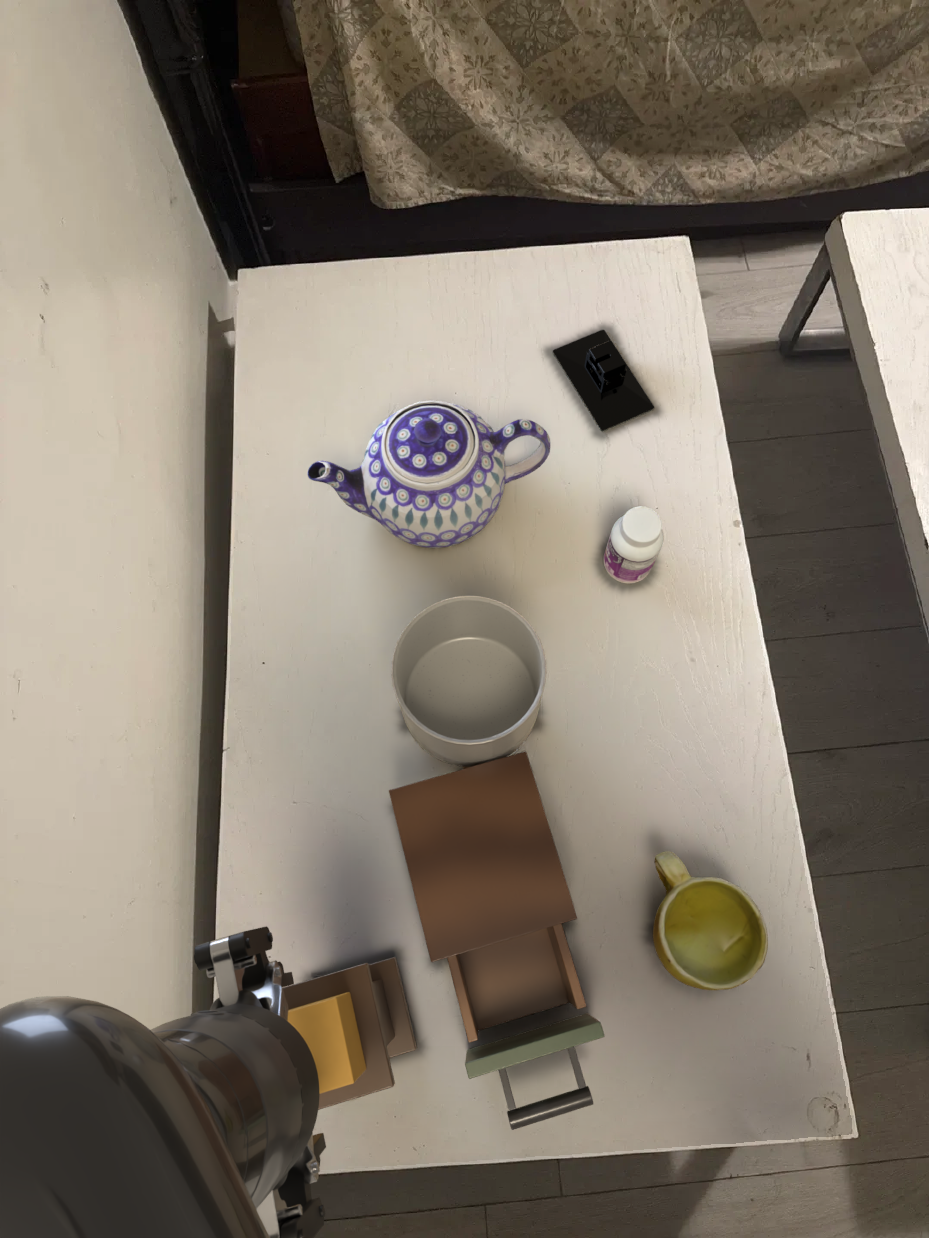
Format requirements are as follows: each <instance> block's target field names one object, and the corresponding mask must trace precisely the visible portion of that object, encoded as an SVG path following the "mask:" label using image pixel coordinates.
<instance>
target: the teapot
mask: <svg viewBox="0 0 929 1238" xmlns="http://www.w3.org/2000/svg"><path fill="white" fill-rule="evenodd" d="M524 436H531V437H533V438H535V439H537V440H538V441H539V442H540V443H539V445H538V447H537V449H536V450H535V451H534V452H532V454H531V455H530V456H529V457H527V458H525V459H524V460H521V461H519V462H516V463H514V464H511V465H506V460H505V451H506V449H507V447H508V446H509V444H510V443H511V442H512V441H514V440H517V439H518V438H520V437H524ZM550 453H551V438H550V435H549V433H548V432H547V430H546V429H545V428H544V427H543V426H541V425H540V424H538V423H537V422H536V421H533V420H531V419H523V418H522V419H516V420H513V421H511V422H510V423H508V424H506V425H504V426H503V427H502V428H500V429H499V430H497V431H494V429H493V428H492V427H491V425H489V424H488V423H487V422H486V421H485V420H484V418H482V416H480V415H479V414H477V413H476V412H475V411H473V410H471V409H469V408H467V407H465V406H462V405H459V404H456V403H452V402H449V401H443V400H433V399H432V400H420V401H418V402H414V403H410V404H409V405H406V406H405V407H403V408H400V409H398V410H397V411H395V412H393V413H392V414H391V415H389V416H388V417H387V418H386V419H384V420H383V421H382V422H381V423H379V424H378V425H377V427H376V428H375V430H374V431H373V432H372V435H371V437H370V439H369V441H368V443H367V446H366V449H365V452H364V456H363V460H362V462H361V465H359V467H357V468H354V469H346V468H344V467H342V466H340V465H338V464H336V463H334V462H331V461H327V460H319V461H318V460H317V461H315V462H313V463H311V465H310V466H309V467H308V469H307V478H308V479H309V480H310V481H314V482H318V483H323V484H327V485H329V486H330V487H331V488H332V489H333V490H334V491H335V493H336V494H337V495H338V497H339V498H340V499H341V501H343V503H344V504H345V505H346V506H347V507H349V508H351V509H352V510H354V511H355V512H357V513H359V514H361V515H364V516H366V517H368V518H371V519H373V520H375V521H376V522H378V523H379V524H380V525H382V527H384V529H385V530H386V531H388V532H389V533H390V534H391V535H393V536H395V537H396V538H397V539H399V540H401V541H402V542H403V541H404V542H406V543H407V544H409V545H413V546H416V547H421V548H428V549H429V548H431V549H441V548H448V547H452V546H456V545H460V543H461V544H462V543H463V542H466V541H467V540H469V539H471V538H472V537H474V536H475V535H478V533H480V532H482V530H483V529H484V528H485V527H486V526H487V525H488V524H489V522H490V521H491V520H492V519H493V517H494V516H495V515H496V514H497V511H498V508H499V507H500V503H501V501H502V498H503V496H504V490H505V485H506V484H509V483H511V482H512V481H515V480H519V479H521V478H524V477H525V476H528V475H530V474H531V473H533V472H535V471H536V470H538V469H539V468H541V466H542V465H543V464H545V462H546V460H547V459H548V457H549V455H550Z"/></svg>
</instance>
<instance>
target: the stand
mask: <svg viewBox="0 0 929 1238" xmlns="http://www.w3.org/2000/svg"><path fill="white" fill-rule="evenodd" d="M282 989H283V992H284V995H285V998H286V1000H287V1003H288V1010H290V1009H294V1008H297V1007H300V1006H304V1005H307V1004H310V1003H314V1002H317V1001H320V1000H324V999H327V998H330V997H334V996H337V995H340V994H344V993H347V992H350V995H351V999H352V1004H353V1009H354V1013H355V1018H356V1023H357V1027H358V1032H359V1037H360V1041H361V1046H362V1051H363V1055H364V1060H365V1064H366V1070H365V1071H364V1072H363V1073H362V1074H361V1076H360V1077H359V1078H358V1079H357V1080H356V1081H355V1082H354V1083H353V1084H350V1085H347V1086H343V1087H340V1088H337V1089H334V1090H330V1091H327V1092H324V1093H321V1094H319V1108H318V1111H321V1110H322V1109H326V1108H329V1107H332V1106H336V1105H339V1104H342V1103H346V1102H349V1101H352V1100H356V1099H359V1098H361V1097H366V1096H367V1095H368V1096H369V1095H371V1094H374V1093H378V1092H381V1091H384V1090H388V1089H392V1088H393V1087H394V1086H395V1085H396V1082H395V1081H396V1080H395V1077H394V1072H393V1068H392V1063H391V1059H392V1058H394V1057H398V1056H401V1055H404V1054H407V1053H411V1052H414V1051H416V1050H417V1048H418V1044H417V1041H416V1037H415V1033H414V1029H413V1025H412V1020H411V1016H410V1012H409V1007H408V1003H407V999H406V995H405V990H404V986H403V982H402V977H401V974H400V969H399V965H398V961H397V957H396V956H393V957H390V958H385V959H382V960H379V961H376V962H372V963H368V962H364V963H360V964H356V965H353V966H351V967H348V968H344V969H340V970H337V971H334V972H329V973H328V974H324V975H320V976H317V977H314V978H309V979H306V980H304V981H300V982H297V983H294V984H292V985H289V986H286V987H282Z"/></svg>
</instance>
